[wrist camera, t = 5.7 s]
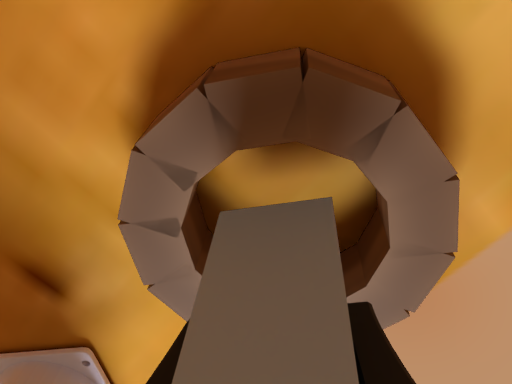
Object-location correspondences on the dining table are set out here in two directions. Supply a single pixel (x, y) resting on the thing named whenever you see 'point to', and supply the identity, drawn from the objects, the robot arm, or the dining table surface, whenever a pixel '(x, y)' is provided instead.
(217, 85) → the walnut ring
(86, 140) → the dining table surface
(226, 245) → the slate peg
